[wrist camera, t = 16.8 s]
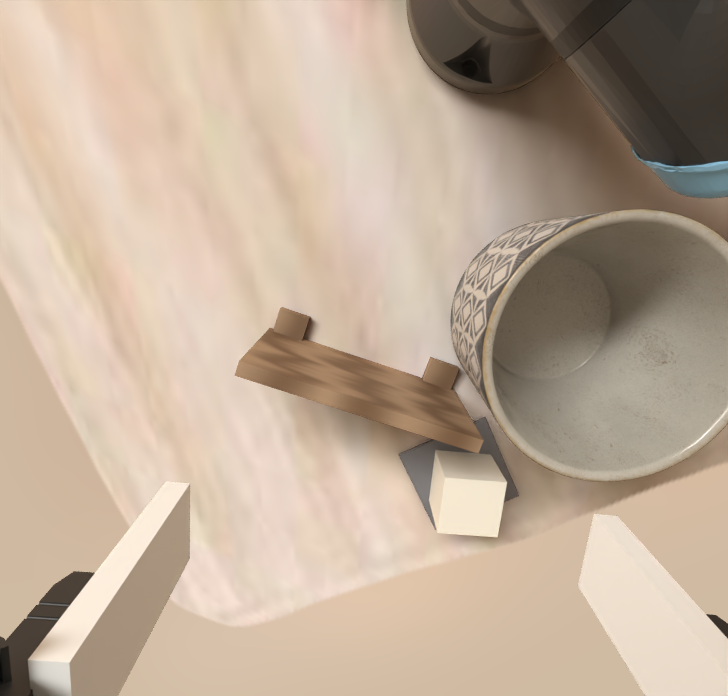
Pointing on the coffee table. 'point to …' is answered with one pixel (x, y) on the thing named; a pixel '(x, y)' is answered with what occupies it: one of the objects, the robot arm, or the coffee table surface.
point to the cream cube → (466, 493)
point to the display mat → (423, 455)
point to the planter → (600, 340)
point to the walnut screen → (360, 384)
